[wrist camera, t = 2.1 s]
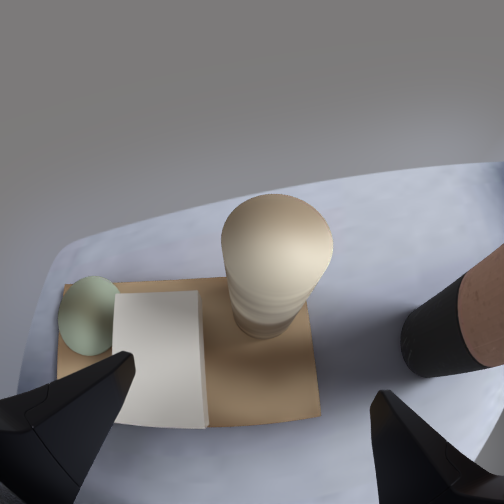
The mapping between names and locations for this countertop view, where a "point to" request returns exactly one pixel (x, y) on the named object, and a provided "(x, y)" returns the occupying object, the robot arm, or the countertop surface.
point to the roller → (273, 261)
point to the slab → (163, 358)
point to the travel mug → (459, 324)
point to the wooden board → (215, 351)
